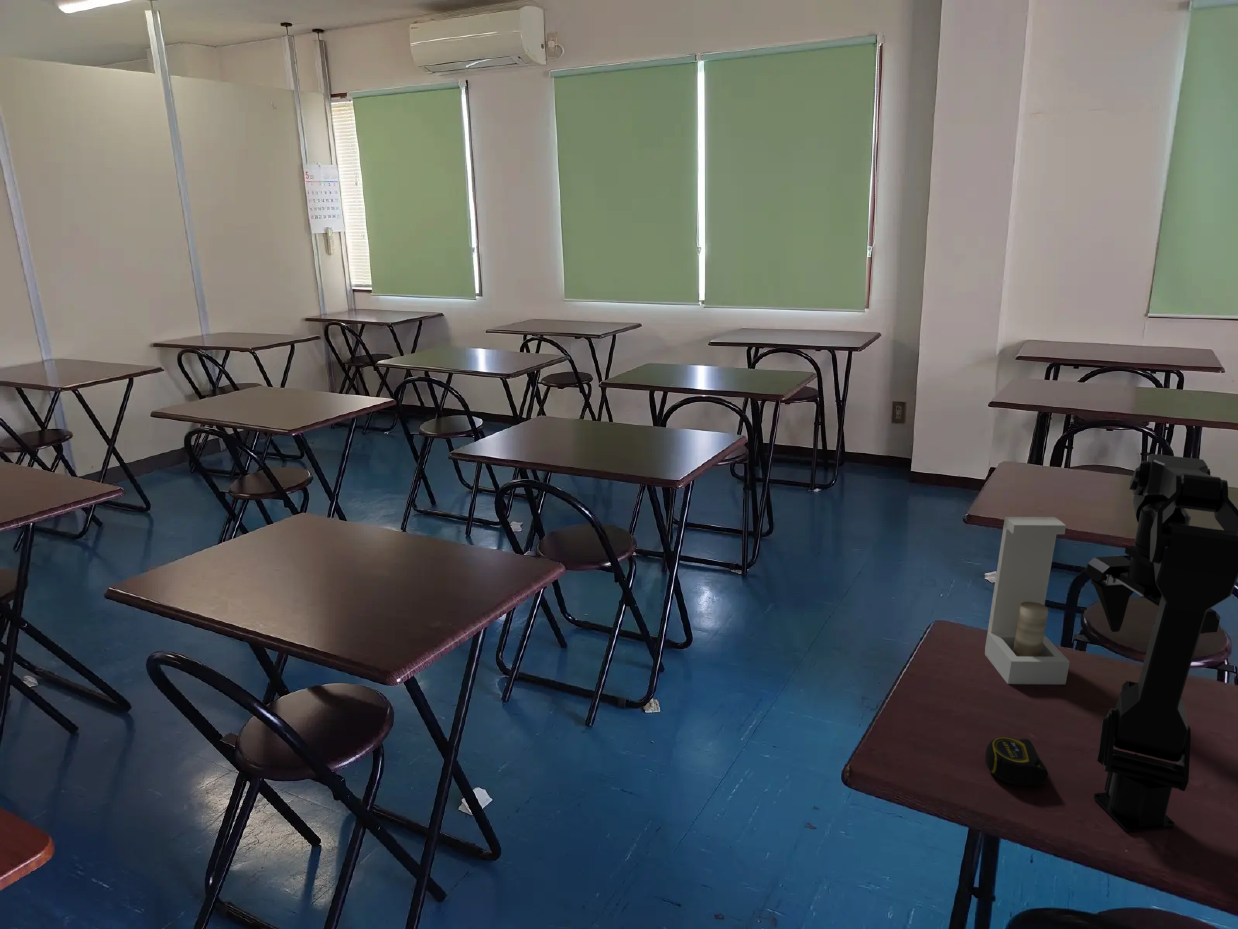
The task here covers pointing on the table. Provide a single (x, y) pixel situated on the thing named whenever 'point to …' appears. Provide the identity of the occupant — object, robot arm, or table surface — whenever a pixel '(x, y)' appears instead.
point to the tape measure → (1015, 761)
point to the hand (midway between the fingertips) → (1137, 647)
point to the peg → (1030, 629)
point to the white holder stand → (1023, 600)
